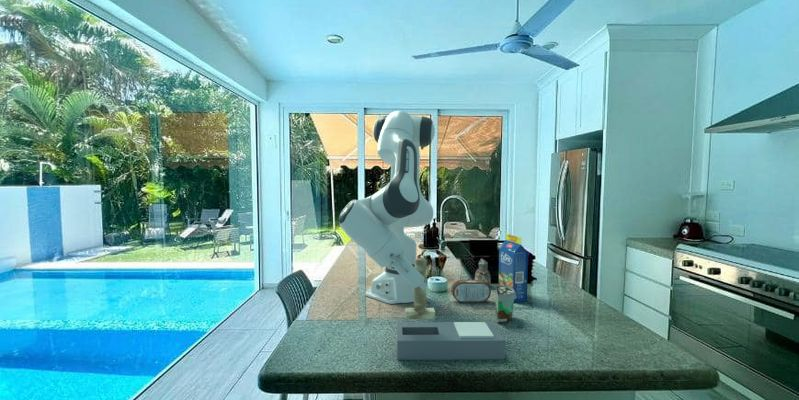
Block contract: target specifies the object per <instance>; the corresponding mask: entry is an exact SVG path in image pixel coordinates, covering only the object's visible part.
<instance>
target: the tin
mask: <svg viewBox="0 0 799 400" xmlns="http://www.w3.org/2000/svg"><path fill="white" fill-rule="evenodd" d="M450 291H451V294H452V296H453V298H454V299H455V300H456V301H457V302H459V303H484V302H486V301H488V300H489V299H490V297H491V293H492V289H491V287H489V285H488V284H487V283H486V282H485V281H483V280H475V279H458V280H456V281H455V282H454V283H453V284H452V286H451V290H450Z"/></svg>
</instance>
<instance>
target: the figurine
mask: <svg viewBox="0 0 799 400" xmlns="http://www.w3.org/2000/svg"><path fill="white" fill-rule="evenodd" d="M488 264H489V263H488V261H486V260H485V259H484V258H480V260H479V261H478V268H477V269H476V271H475V274H474V280H483V281H485V282H486V283H487V284H488V285H489V287H490V288H491V284H492V283H491V273H490V271H489V270H488V268H489V267H488Z"/></svg>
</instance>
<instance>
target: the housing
mask: <svg viewBox="0 0 799 400" xmlns="http://www.w3.org/2000/svg"><path fill="white" fill-rule="evenodd" d="M505 350H506V340H505V338H504V337H503V335H502V334H501V333H500V331H499V330H498V328H497V327H496V326H495V324H494V322H492V321H433V322H432V321H422V322H421V321H419V322H417V321H415V322H413V321H404V322H403V321H402V322H401V321H399V322H398V321H397V322H396V360H398V361H401V360H402V361H403V360H405V361H409V360H410V361H412V360H414V361H418V360H425V361H426V360H429V361H433V360H435V361H436V360H439V361H440V360H442V361H443V360H447V361H448V360H450V361H451V360H457V361H458V360H505V359H506V358H505V357H506V356H505V355H506V353H505Z"/></svg>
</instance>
